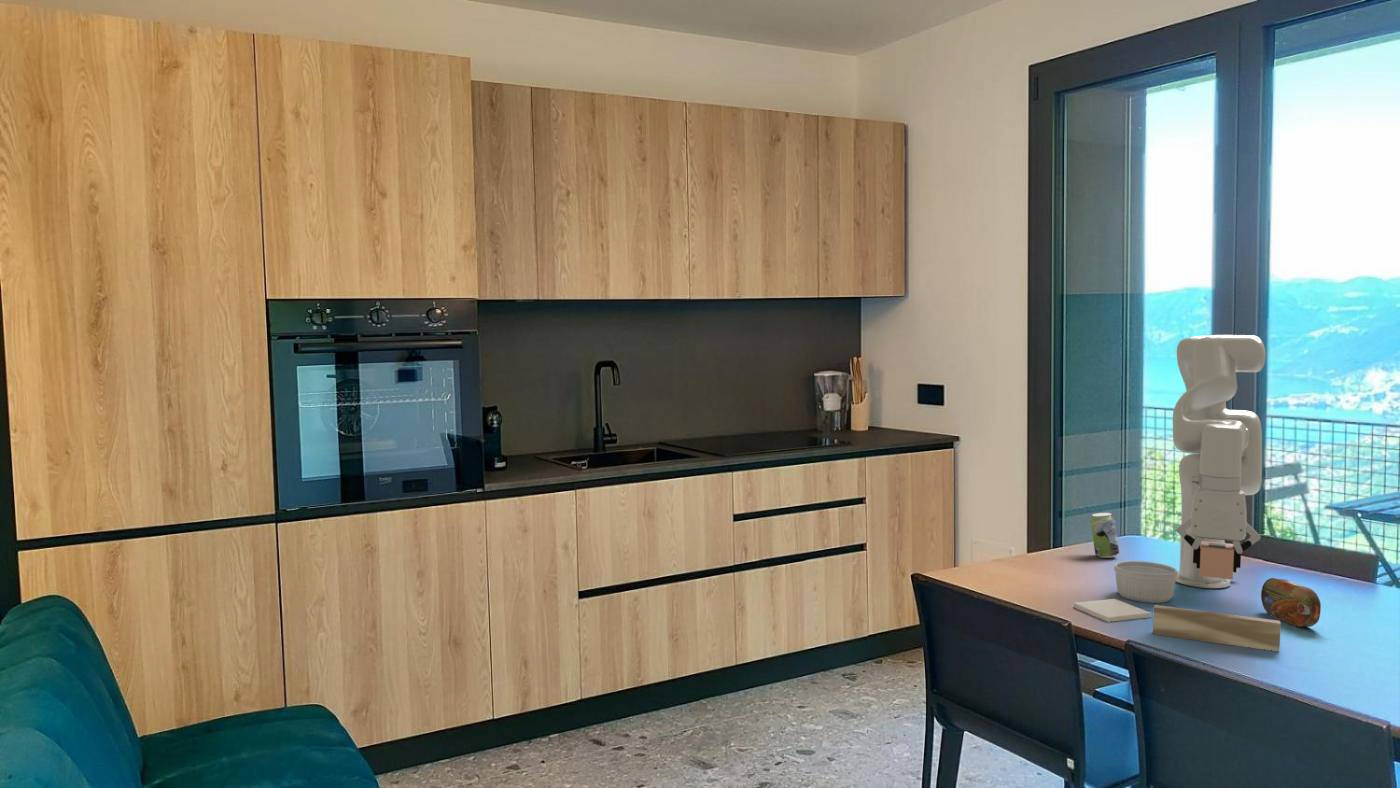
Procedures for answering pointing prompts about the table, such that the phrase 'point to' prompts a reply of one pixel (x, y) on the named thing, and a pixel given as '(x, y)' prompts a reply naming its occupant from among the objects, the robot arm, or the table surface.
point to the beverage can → (1104, 535)
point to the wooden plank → (1217, 627)
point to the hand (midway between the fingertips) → (1216, 568)
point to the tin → (1291, 602)
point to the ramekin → (1145, 581)
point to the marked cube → (1216, 560)
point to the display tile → (1112, 610)
